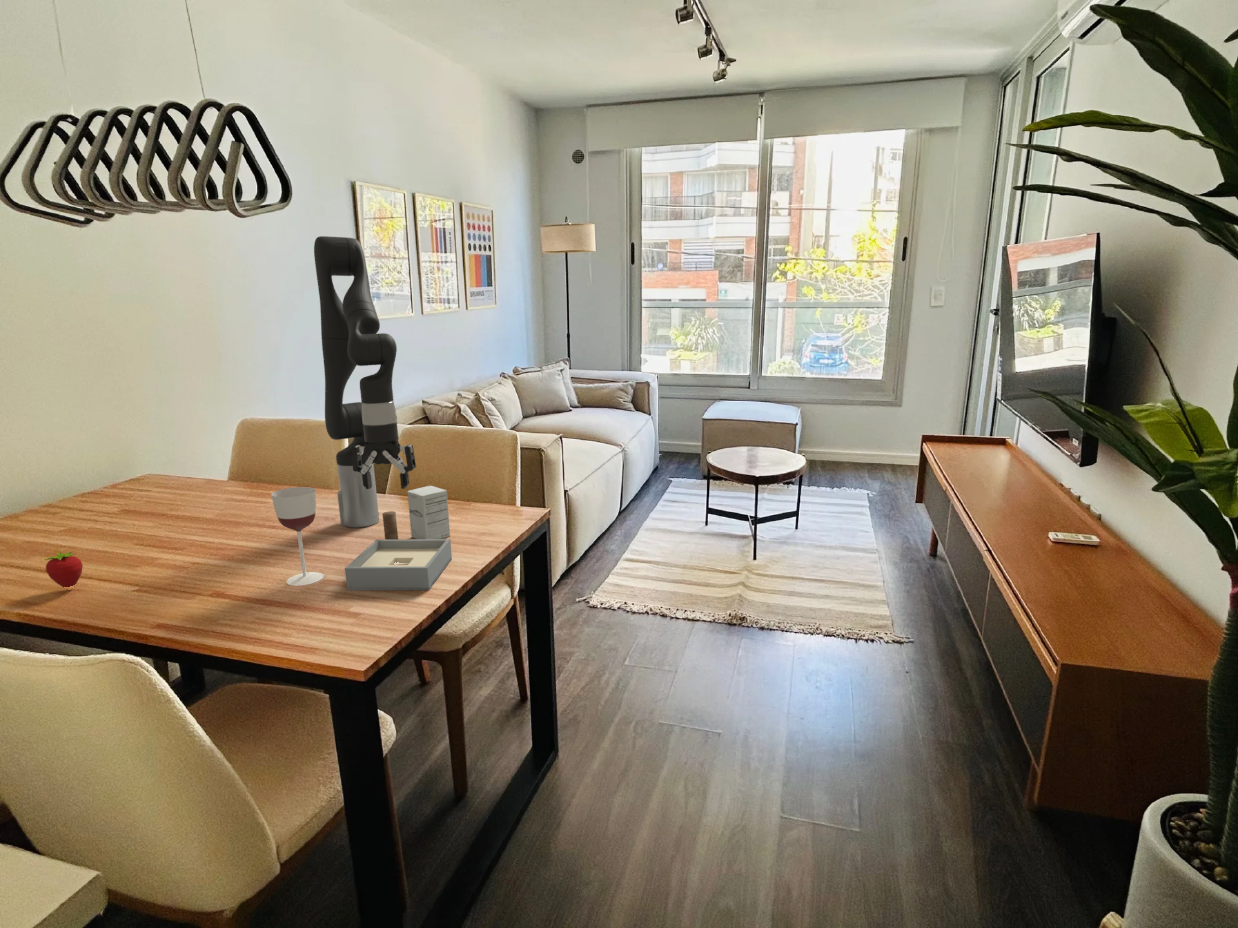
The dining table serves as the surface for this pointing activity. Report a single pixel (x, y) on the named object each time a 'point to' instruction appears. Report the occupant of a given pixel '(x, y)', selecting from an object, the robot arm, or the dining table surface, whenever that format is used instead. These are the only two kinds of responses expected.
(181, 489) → the dining table surface
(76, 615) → the dining table surface
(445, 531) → the supplement box
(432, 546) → the peg box
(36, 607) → the dining table surface
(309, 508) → the wineglass
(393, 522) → the peg
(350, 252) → the robot arm
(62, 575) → the strawberry
